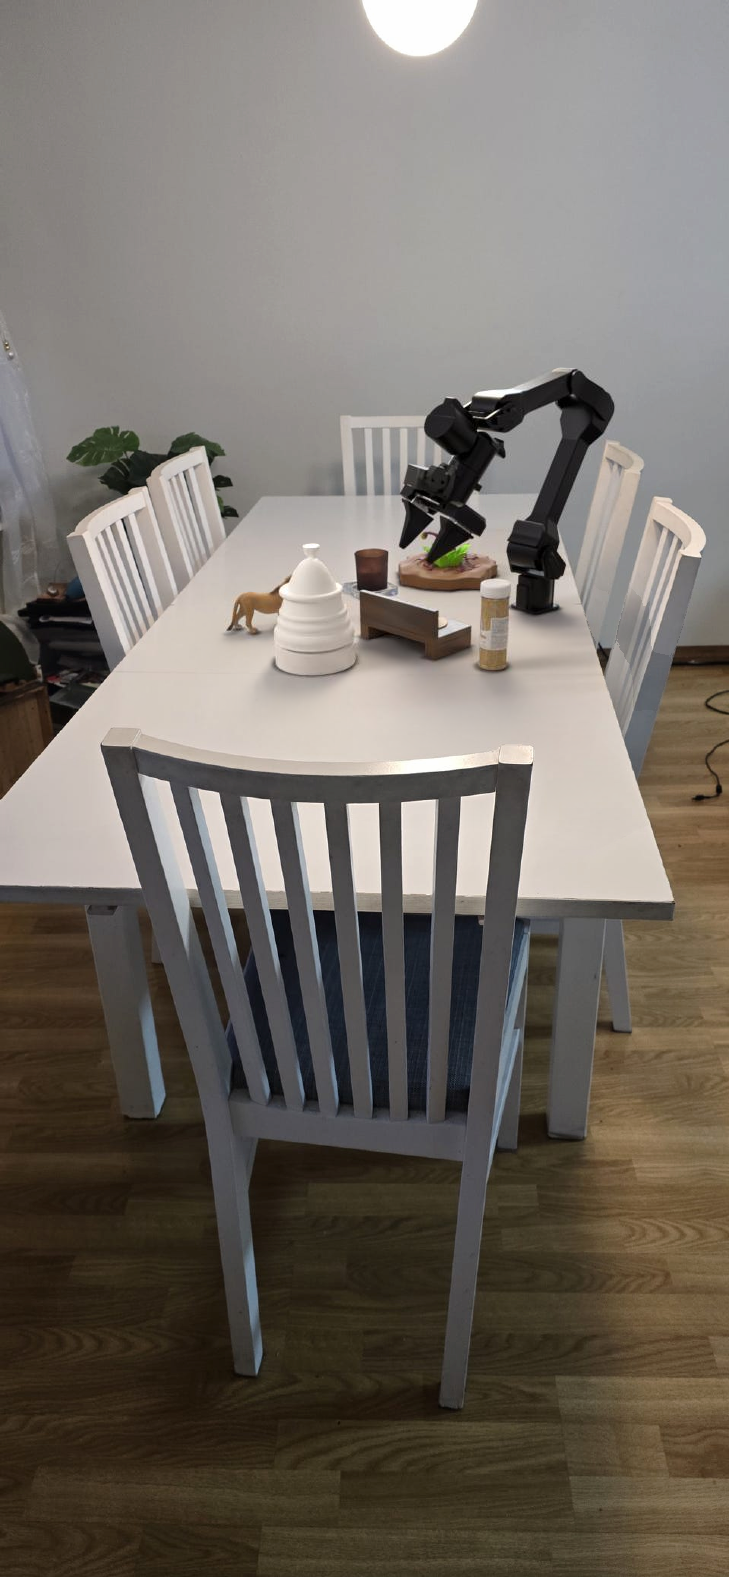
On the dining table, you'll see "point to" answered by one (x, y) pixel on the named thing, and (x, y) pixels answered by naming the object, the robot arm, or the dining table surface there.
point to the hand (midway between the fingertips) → (414, 555)
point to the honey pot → (313, 622)
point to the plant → (447, 569)
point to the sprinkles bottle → (494, 623)
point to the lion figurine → (256, 606)
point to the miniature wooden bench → (412, 624)
